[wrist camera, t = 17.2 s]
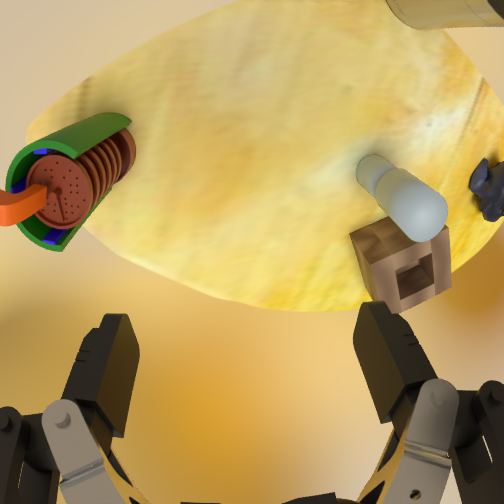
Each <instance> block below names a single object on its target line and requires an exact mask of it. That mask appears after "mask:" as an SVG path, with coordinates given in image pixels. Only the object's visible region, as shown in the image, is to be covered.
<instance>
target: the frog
mask: <svg viewBox="0 0 504 504" xmlns="http://www.w3.org/2000/svg"><path fill="white" fill-rule="evenodd" d="M487 166H488V159H486V158H485V159H483V160H482V161H481V163H480V164H479V166H478V167H477V169H476V170H475V172H474V173H473V175H472V178H471V185H470V190H471V191H472V192H473V193H475V194H477V195H479V205H480V210H481V212H482V214H483V217H484V219H485V220H487V221H490V222H495V221H497V220H498V219H499V218H500V217H501V216H504V161H503V162H502V163H501V162H499V163H498V166H496V167H493V168H492V169H489V168H488V169H487Z"/></svg>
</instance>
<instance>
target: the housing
mask: <svg viewBox="0 0 504 504" xmlns="http://www.w3.org/2000/svg"><path fill="white" fill-rule="evenodd" d="M350 237H351V240H352V243H353V246H354V249H355V253H356V256H357V259H358V262H359V266H360V269H361V272H362V276H363V279H364V283H365V286H366V289H367V291H368V292H369V294H370V296H371V298H372V300H373V301H380V300H383V301H385V303H386V304H387V306H388V308H389V309H390V311H391V313H392V314H394V313H398V314H399V313H401V312H403V311H405V310H407V309H410V308H412V307H414V306H416V305H418V304H420V303H422V302H424V301H426V300H428V299H430V298H432V297H434V296H436V295H438V294H440V293H441V292H443V291H445V290H447V289H449V288H451V255H450V239H449V228H448V227H447V226H446V225H444V227H443V228H442V230H441V231H440V232H439V233H438V234H437V235H436V236H435V237H434V238H432V239H430V240H428V241H425V242H416V241H413V240H411V239H410V238H409V237H408V236H407V235H406V234H405V233H404V232H403V231H402V229H401V228H400V227H399V226H398V225H397V224H396V223H395V222H394V221H393V220H392V219H391V218H390V217H387V218H384V219H382V220H380V221H377V222H375V223H373V224H371V225H368V226H366V227H364V228H362V229H359V230H357V231H355V232H352V233H350Z"/></svg>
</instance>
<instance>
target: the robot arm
mask: <svg viewBox="0 0 504 504" xmlns="http://www.w3.org/2000/svg"><path fill="white" fill-rule="evenodd" d="M387 2H388V4H389V6H390V8H391V10H392V11H393V12H394V14H395V15H396V16H397V17H398V18H399V19H400V20H401V21H403V22H404V23H405V24H407V25H408V26H411V27H413V28H416V29H419V30H430V29H442V28H457V27H495V26H496V27H504V0H387ZM353 345H354V349H355V352H356V355H357V358H358V360H359V363H360V366H361V368H362V371H363V374H364V377H365V379H366V382H367V385H368V388H369V390H370V393H371V396H372V399H373V402H374V405H375V408H376V411H377V413H378V417H379V420H380V423H381V424H383V423H387V422H391V421H392V423H393V426H394V428H393V430H392V432H391V435H390V437H389V440H388V442H387V444H386V446H385V449H384V451H383V453H382V456H381V458H380V460H379V463H378V465H377V467H376V469H375V471H374V473H373V475H372V477H371V478H370V480H369V481H368V482H367V484H366V485H365V487H364V489H363V490H362V492H361V494H360V496H359V497H358V499H357V501H352V500H348V499H340V498H336V496H335V492H333V493H327V494H322V495H316V496H309V497H302V498H297V499H294V500H291V501H288V502H285V503H282V504H439V503H440V500H441V498H442V495H443V492H444V489H445V486H446V483H447V479H448V476H449V473H450V470H451V465H452V469H453V472H454V476H455V479H456V483H457V486H458V490H459V493H460V497H461V501H462V504H504V384H502V383H500V382H498V381H493V380H490V381H487V382H485V383H484V384H483V385H482V386H481V388H480V389H479V390H478V391H466V390H464V391H463V390H456V388H455V387H454V386H453V385H452V384H451V383H449V382H448V381H446V380H443V379H439V378H438V377H437V375H436V373H435V371H434V369H433V367H432V366H431V364H430V362H429V360H428V358H427V356H426V354H425V352H424V351H423V349H422V347H421V345H419V341H418V339H417V338H416V336H414V333H413V331H412V329H411V327H410V325H409V324H408V322H407V321H406V320H405V319H403V318H402V317H401V316H400V315H399V314H398V313H394V314H392V313H391V311H390V309H389V308H388V306H387V304H386V303H385V301H383V300H380V301H371V302H363V303H362V304H361V307H360V310H359V314H358V318H357V322H356V326H355V330H354V334H353ZM139 351H140V350H139V344H138V342H137V339H136V336H135V333H134V330H133V328H132V325H131V322H130V319H129V317H128V315H127V314H105V315H104V317H103V319H102V322H101V324H100V327H99V328H93V329H92V330H91V331H90V332H89V333H88V334H87V335H86V336H85V337H84V339H83V341H82V344H81V346H80V349H79V352H78V354H77V356H76V359H75V360H76V361H75V362H74V364H73V367H72V369H71V372H70V375H69V378H68V381H67V383H66V386H65V389H64V392H63V394H62V397H61V399H60V400H57V401H54V402H53V403H51V404H50V405H48V406H47V408H46V409H45V411H44V412H43V413H39V414H32V415H24V416H22V415H21V414H20V413H19V412H18V411H17V410H16V409H15V408H13V407H8V406H7V407H2V408H0V504H56V501H57V492H58V486H59V485H60V490H61V493H62V495H63V497H64V499H65V501H66V503H67V504H150V503H149V501H148V500H147V499H146V498H145V497H144V496H143V494H142V493H141V492H140V491H139V490H138V488H137V487H136V486H135V484H134V483H133V481H132V480H131V478H130V476H129V475H128V473H127V472H126V470H125V469H124V467H123V465H122V463H121V462H120V460H119V458H118V457H117V455H116V453H115V452H114V450H113V448H112V447H111V442H112V437H118V438H124V432H125V426H126V421H127V415H128V410H129V405H130V400H131V395H132V390H133V386H134V381H135V377H136V372H137V368H138V363H139V357H140V352H139ZM483 435H484V438H485V440H486V443H487V446H488V449H489V452H490V454H491V457H492V462H491V459H490V456H489V454H488V451H487V448H486V446H485V443H484V440H483V438H482V436H483ZM447 453H448V456H449V457H448V456H447ZM22 464H23V467H22ZM21 468H22V472H21ZM60 473H61V475H62V478H63V480H62V481H61V482H60V483H59V478H60ZM20 474H21V477H20ZM19 479H20V482H19ZM18 484H19V488H18ZM181 504H220V503H189V502H181Z"/></svg>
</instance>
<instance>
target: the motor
mask: <svg viewBox="0 0 504 504" xmlns="http://www.w3.org/2000/svg"><path fill="white" fill-rule="evenodd" d="M131 122H132V121H131V120H130V119H128V118H127V117H125V116H123V115H120V114H117V113H101V114H98V115H95V116H93V117H90V118H88V119H85V120H83V121H80V122H78V123H75V124H73V125H70V126H68V127H66V128H63V129H61V130H59V131H57V132H54V133H52V134H50V135H48V136H46V137H44V138H42V139H39V140H37V141H35V142H33V143H31V144H29V145H27V146H26V147H24V148H23V149H22V150H21V151H20V152H19V153H18V154H17V155H16V156H15V158H14V159H13V161H12V163H11V165H10V167H9V170H8V173H7V177H6V187H5V190H6V192H5V191H3V190H0V226H11V225H14V224H16V225H17V226H18V228H19V229H20V230H21V231H22V233H23V234H24V235H25V236H26V237H27V238H29V239H30V240H31V241H33V242H34V243H35V244H37V245H39V246H41V247H43V248H45V249H48V250H52V251H58V252H62V251H63V250H64V248H65V247H66V246H67V244H68V243H69V241H70V240H71V239H72V238H73V236H74V235H75V234H76V232H77V231H78V229H79V228H80V227H81V226H82V225H83V223H84V222H85V221H86V220H87V218H88V217H89V216H90V215H91V213H92V212H93V211H94V210H95V208H96V207H97V206H98V205H99V204H100V202H101V201H102V200H103V199H104V198H105V196H106V195H107V194H108V193H109V192H110V191H111V189H112V185H113V184H115V183H117V182H118V181H120V180H121V179H122V178H123V177H124V176H125V175H126V174H127V173H128V171H129V170H130V169H131V167H132V166H133V164H134V161H135V157H136V146H135V142H134V140H133V138H132V136H131V134H130V133H129V132H128V131H127V130H126V129H125V127H126V126H128V125H129V124H130V123H131Z"/></svg>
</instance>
